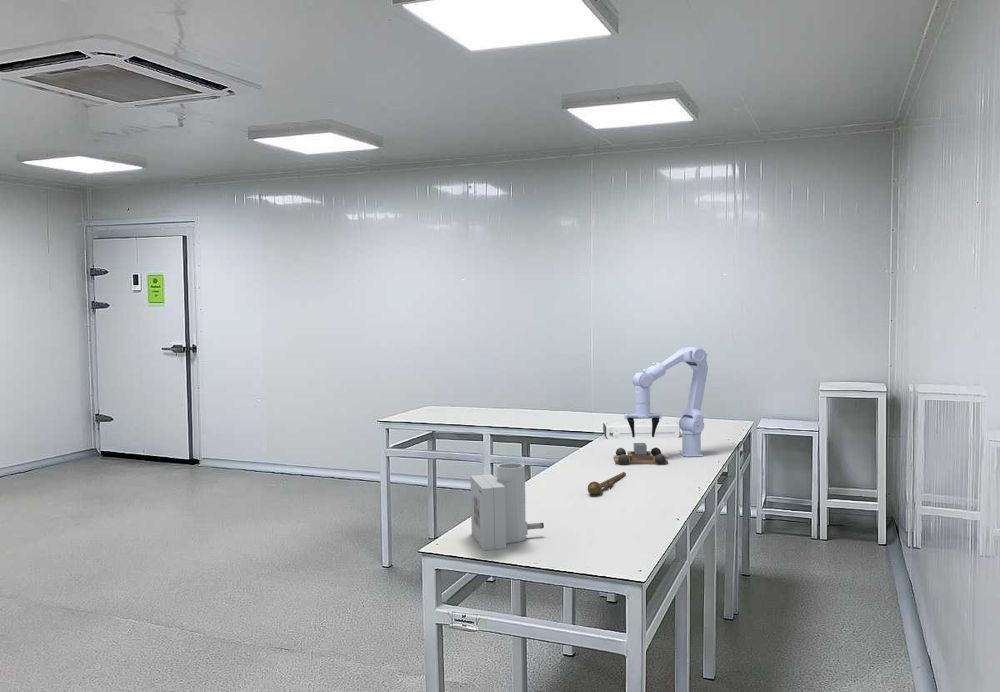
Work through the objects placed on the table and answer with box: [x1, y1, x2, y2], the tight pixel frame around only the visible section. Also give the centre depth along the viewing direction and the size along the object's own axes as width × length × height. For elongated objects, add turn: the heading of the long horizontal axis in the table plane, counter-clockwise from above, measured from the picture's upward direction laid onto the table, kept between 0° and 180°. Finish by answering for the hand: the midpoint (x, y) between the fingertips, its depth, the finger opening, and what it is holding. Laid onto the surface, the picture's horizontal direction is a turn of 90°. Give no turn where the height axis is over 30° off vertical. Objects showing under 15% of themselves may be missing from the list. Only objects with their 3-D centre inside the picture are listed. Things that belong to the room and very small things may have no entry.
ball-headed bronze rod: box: [587, 471, 627, 497], centre depth 282 cm, size 5×35×5 cm
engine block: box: [633, 442, 648, 456], centre depth 322 cm, size 6×4×6 cm
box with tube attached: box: [469, 462, 545, 551], centre depth 221 cm, size 16×19×20 cm
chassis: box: [613, 447, 669, 466], centre depth 323 cm, size 15×20×4 cm
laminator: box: [602, 421, 681, 440], centre depth 380 cm, size 34×12×6 cm, turn 89°
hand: (643, 436), depth 324 cm, fingers open, 7 cm apart
